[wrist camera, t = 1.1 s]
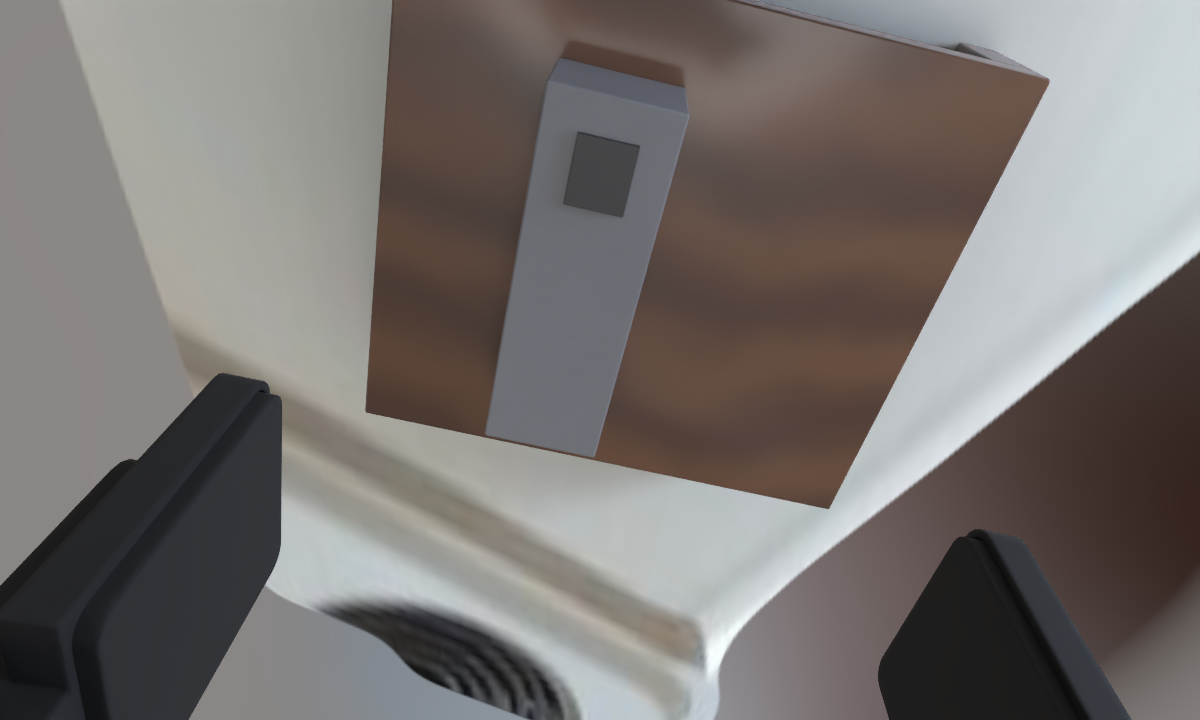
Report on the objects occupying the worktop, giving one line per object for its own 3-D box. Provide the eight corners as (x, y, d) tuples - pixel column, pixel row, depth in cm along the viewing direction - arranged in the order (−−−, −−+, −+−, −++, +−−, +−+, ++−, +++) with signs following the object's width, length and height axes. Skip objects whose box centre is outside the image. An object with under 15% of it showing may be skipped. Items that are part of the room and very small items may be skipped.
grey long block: (558, 56, 26) (545, 80, 23) (686, 88, 26) (690, 115, 23) (499, 386, 34) (483, 438, 31) (599, 408, 34) (594, 461, 31)
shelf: (435, -91, 28) (397, -85, 24) (996, 51, 30) (1052, 80, 26) (395, 355, 39) (364, 413, 35) (811, 444, 40) (829, 510, 36)
